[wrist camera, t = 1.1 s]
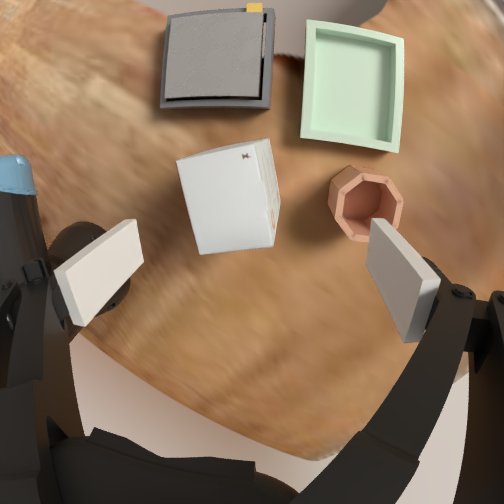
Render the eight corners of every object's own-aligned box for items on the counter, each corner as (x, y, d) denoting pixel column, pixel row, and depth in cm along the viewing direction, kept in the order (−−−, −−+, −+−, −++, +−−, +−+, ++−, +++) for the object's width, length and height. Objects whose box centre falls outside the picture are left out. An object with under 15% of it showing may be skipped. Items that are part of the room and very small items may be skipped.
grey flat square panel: (168, 98, 27) (164, 98, 26) (175, 21, 23) (171, 18, 22) (259, 97, 26) (258, 96, 25) (264, 15, 22) (263, 12, 21)
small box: (216, 147, 32) (173, 159, 20) (269, 137, 30) (256, 140, 19) (230, 212, 35) (198, 257, 23) (281, 204, 34) (276, 247, 22)
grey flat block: (170, 109, 30) (157, 107, 27) (177, 20, 25) (166, 11, 22) (270, 109, 29) (267, 106, 26) (275, 15, 24) (273, 3, 21)
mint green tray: (299, 137, 30) (300, 137, 28) (305, 26, 24) (306, 19, 22) (391, 151, 29) (398, 153, 27) (396, 44, 23) (403, 39, 21)
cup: (325, 220, 34) (331, 238, 28) (332, 162, 31) (341, 169, 25) (378, 226, 33) (393, 245, 27) (388, 171, 30) (407, 180, 25)
